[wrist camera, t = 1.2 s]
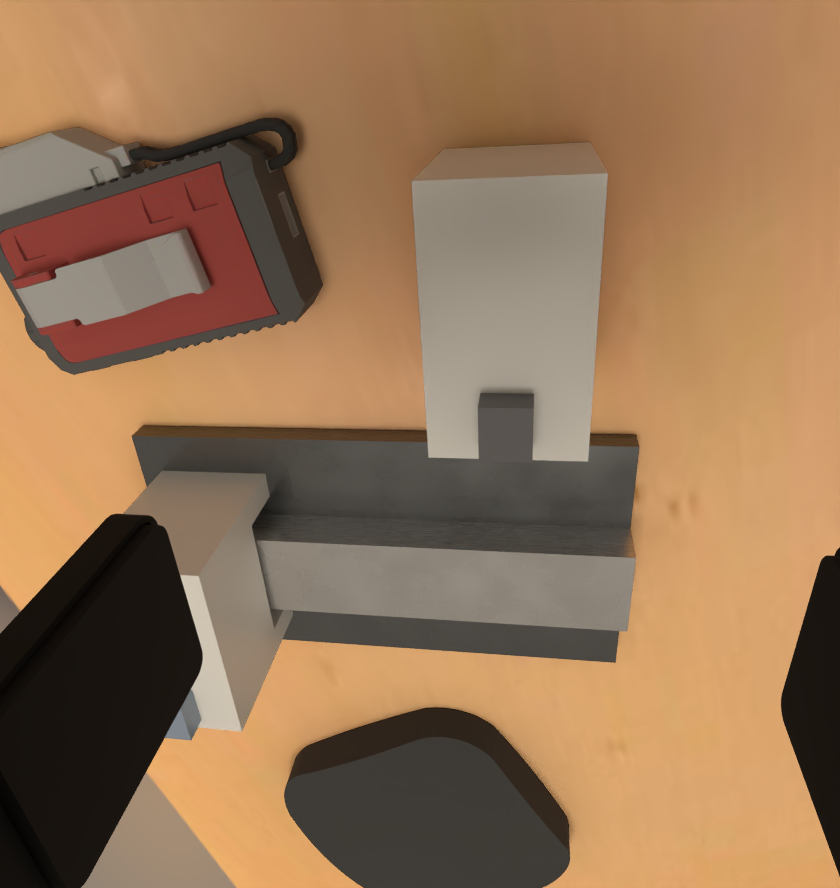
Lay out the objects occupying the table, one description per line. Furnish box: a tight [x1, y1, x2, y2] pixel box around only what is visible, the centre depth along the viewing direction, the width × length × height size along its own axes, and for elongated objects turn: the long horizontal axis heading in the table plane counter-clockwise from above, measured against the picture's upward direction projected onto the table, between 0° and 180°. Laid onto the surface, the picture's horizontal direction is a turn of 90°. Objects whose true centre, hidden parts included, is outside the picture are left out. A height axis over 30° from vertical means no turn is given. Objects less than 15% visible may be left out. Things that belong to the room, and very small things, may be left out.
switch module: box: [411, 142, 608, 463], centre depth 22 cm, size 9×5×8 cm, turn 3°
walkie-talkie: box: [0, 118, 323, 375], centre depth 26 cm, size 9×4×20 cm
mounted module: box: [123, 471, 293, 740], centre depth 30 cm, size 8×5×8 cm, turn 3°
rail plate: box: [132, 426, 639, 663], centre depth 32 cm, size 12×22×3 cm, turn 93°
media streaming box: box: [284, 708, 570, 888], centre depth 42 cm, size 15×15×3 cm
